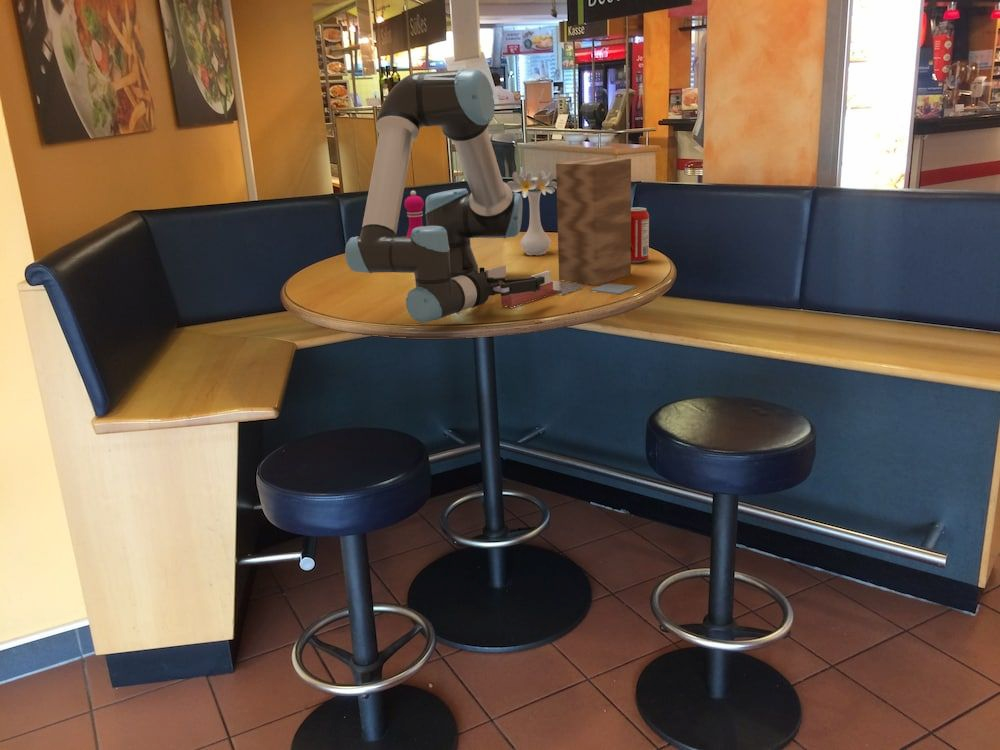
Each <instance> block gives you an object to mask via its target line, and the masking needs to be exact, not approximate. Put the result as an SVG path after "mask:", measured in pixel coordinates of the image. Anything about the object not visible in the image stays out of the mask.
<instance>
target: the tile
mask: <svg viewBox="0 0 1000 750" xmlns="http://www.w3.org/2000/svg"><path fill="white" fill-rule="evenodd" d="M634 289H636V286H635V285H628V284H627V285H626V284H620V283H611V282H610V283H609V282H606V283H603V284H600V285H598V286H596V287H594V288H591V289H590V292H592V291H596V292H595V293H600V292H602V293H601V294H609V293H610V295H617V296H618V295H623V294H624V293H627V292H629V291H631V290H634Z"/></svg>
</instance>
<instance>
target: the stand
mask: <svg viewBox="0 0 1000 750" xmlns="http://www.w3.org/2000/svg"><path fill="white" fill-rule="evenodd" d="M555 170H556V172H555V173H556V176H555V177H556V182H557V190H556V210H557V211H556V212H557V213H556V214H557V216H556V217H557V249H558V281H559V280H564V281H563V282H566V281H570V282H569V283H574V282H577V283H576V284H581V283H584V284H583V285H589V284H591V286H601V285H604V284H606V283H609V282H610V281H614V280H617V279H620V278H622V277H624V276H628V275H631V274H632V268H631V267H632V263H631V208H632V158H620V157H619V158H617V157H610V158H608V157H590V158H583V159H578V160H571V161H565V162H559V163H555Z"/></svg>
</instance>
